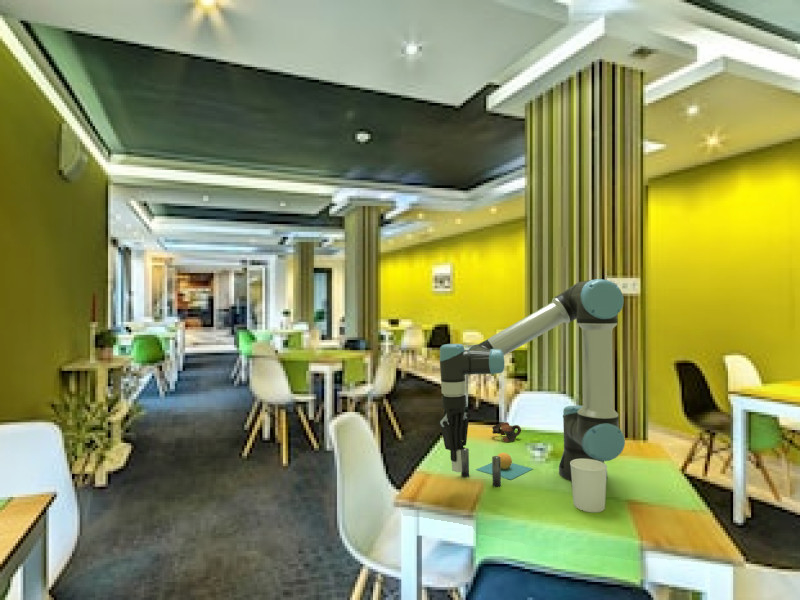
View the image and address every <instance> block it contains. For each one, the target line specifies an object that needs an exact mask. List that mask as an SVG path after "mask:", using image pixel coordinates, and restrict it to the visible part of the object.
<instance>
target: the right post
mask: <svg viewBox="0 0 800 600" xmlns="http://www.w3.org/2000/svg"><path fill="white" fill-rule="evenodd" d="M491 463H492V474H491V477H492V486H493V487H494V486H495V487H494V488H500V486H501V487H502V477H501V460H500V457H499V456H498V455H492V457H491Z"/></svg>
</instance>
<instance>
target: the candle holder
mask: <svg viewBox="0 0 800 600" xmlns="http://www.w3.org/2000/svg"><path fill="white" fill-rule="evenodd" d="M570 466H571V479H572V481H571V489H572V502H573V506H574V507H575V508H576V509H577V508H578V509H577V510H579V509H580V511H582V510H583V511H582V512H586V513H595V514H596V513H600V512H603V511H604V510H605V509H606V497H607V496H606V495H607V494H606V493H607V480H606V476H607V477H608V465H607V464H606V463H605V462H604V463H603V462H601V461H597V460H593V459H575V460H572V461H571V462H570Z"/></svg>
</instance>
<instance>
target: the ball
mask: <svg viewBox="0 0 800 600" xmlns="http://www.w3.org/2000/svg"><path fill="white" fill-rule="evenodd" d="M497 456H499V457H500V460H501V469H508V468H509V467H510V466H511V464H512V463H513V459H512V457H511V455H510V454H509V453H506V452H500V453H498V454H497Z"/></svg>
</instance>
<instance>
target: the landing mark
mask: <svg viewBox="0 0 800 600" xmlns="http://www.w3.org/2000/svg"><path fill="white" fill-rule="evenodd" d="M475 470H476V471H478V472H481V473H485V474H489V475H492V462H490V463H488V464H485V465H483V466H480V467H478V468H476V469H475ZM532 470H534V468H532V467H528V466H525V465H521V464H518V463H513V462H512V464H511V466H510V467H509V468H508V469H501V479H505V478H506V480H509V479H510V480H509V481H512V480H514V479H516V478H518V477H520V476H522V475H525V474H526V473H528V472H531V471H532Z"/></svg>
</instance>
